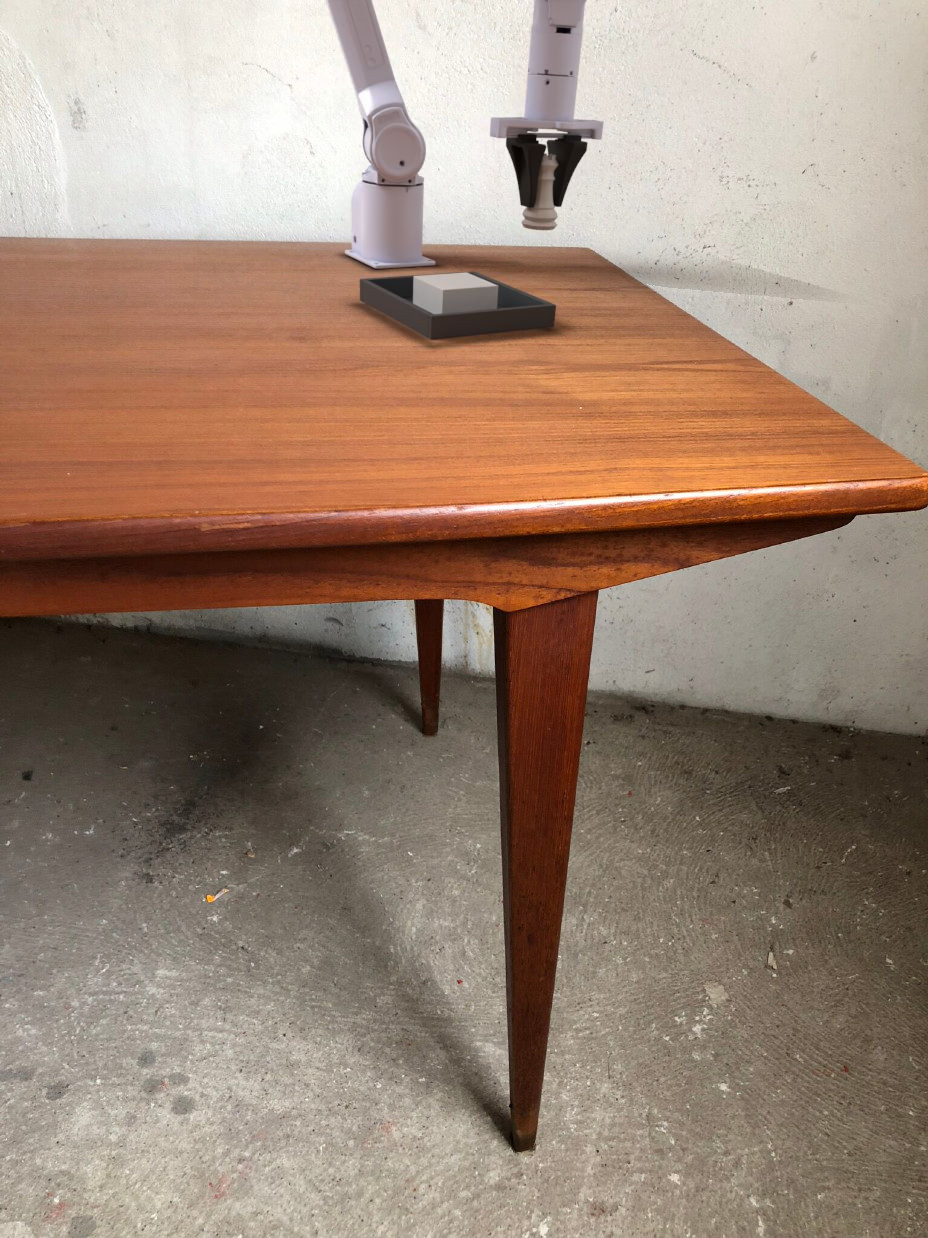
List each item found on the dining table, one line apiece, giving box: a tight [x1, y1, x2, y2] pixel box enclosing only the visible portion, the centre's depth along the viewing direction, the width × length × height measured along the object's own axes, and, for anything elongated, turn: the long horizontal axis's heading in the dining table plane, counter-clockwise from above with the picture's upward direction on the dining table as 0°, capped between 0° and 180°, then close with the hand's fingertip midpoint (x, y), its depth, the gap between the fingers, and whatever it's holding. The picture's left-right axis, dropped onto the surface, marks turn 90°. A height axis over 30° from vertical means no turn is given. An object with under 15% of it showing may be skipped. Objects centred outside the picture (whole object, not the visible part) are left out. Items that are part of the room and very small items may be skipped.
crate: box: [359, 270, 557, 341], centre depth 88 cm, size 15×13×3 cm
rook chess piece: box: [520, 152, 559, 231], centre depth 109 cm, size 4×4×8 cm
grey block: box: [413, 271, 498, 314], centre depth 87 cm, size 6×6×3 cm
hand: (540, 205), depth 110 cm, fingers closed on rook chess piece, 3 cm apart
